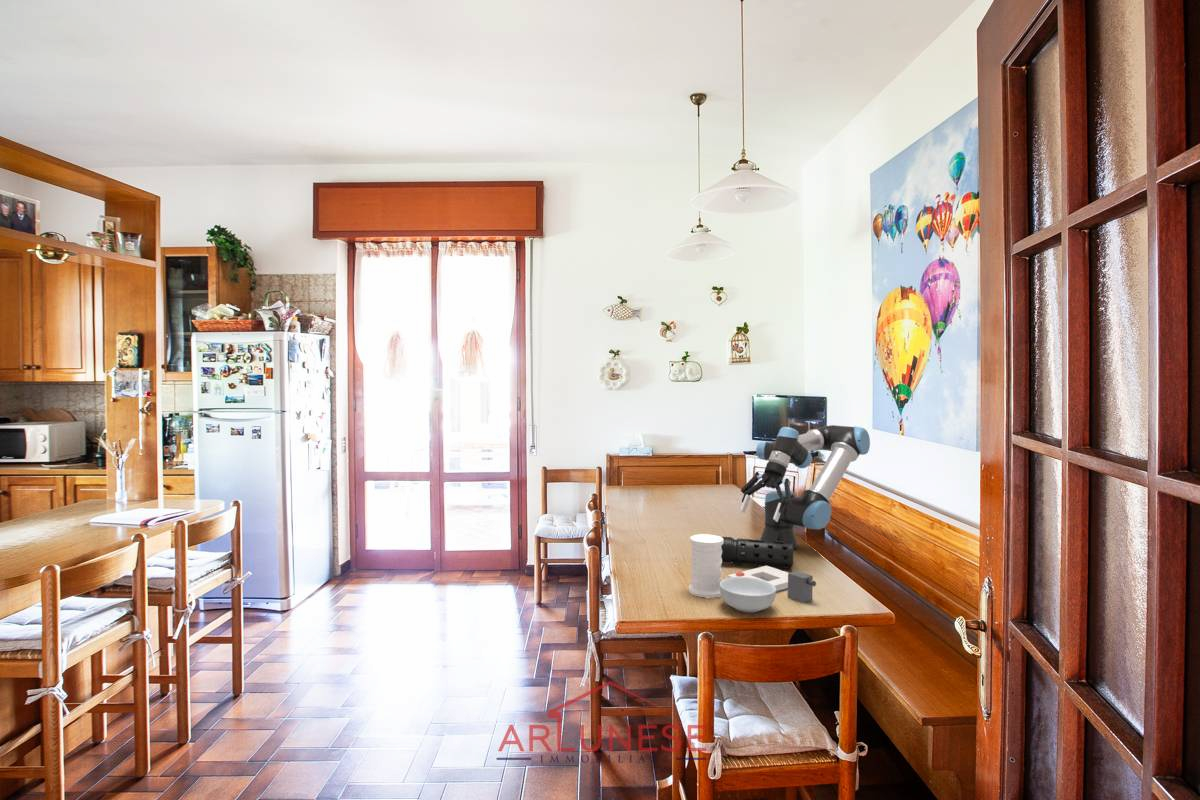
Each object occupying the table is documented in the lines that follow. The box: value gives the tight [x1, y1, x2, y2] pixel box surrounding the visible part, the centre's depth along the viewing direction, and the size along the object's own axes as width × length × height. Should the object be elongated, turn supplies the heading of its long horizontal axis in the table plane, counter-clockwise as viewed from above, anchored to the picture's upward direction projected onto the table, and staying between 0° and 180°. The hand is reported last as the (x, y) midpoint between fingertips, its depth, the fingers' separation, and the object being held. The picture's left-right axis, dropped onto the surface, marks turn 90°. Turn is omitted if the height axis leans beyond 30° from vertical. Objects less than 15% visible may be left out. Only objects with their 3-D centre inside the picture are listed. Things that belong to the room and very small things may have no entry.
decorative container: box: [688, 533, 724, 599], centre depth 199 cm, size 12×12×18 cm
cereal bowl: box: [720, 577, 777, 613], centre depth 186 cm, size 17×17×7 cm
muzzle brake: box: [721, 536, 794, 570], centre depth 228 cm, size 10×28×10 cm, turn 76°
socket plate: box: [727, 566, 789, 594], centre depth 208 cm, size 20×16×3 cm
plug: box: [787, 570, 817, 604], centre depth 193 cm, size 8×4×8 cm, turn 34°
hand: (758, 515), depth 225 cm, fingers open, 13 cm apart
